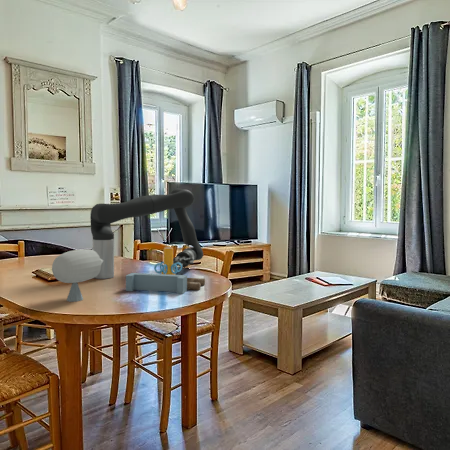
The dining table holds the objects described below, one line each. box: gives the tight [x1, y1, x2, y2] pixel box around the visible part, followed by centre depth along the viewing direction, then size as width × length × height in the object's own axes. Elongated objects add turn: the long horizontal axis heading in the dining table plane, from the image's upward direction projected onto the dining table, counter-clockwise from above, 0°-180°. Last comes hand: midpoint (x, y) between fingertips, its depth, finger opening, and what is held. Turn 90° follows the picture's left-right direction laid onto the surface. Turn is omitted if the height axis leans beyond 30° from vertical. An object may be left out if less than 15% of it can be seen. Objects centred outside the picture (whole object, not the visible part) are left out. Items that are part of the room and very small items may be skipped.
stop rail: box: [125, 272, 188, 295], centre depth 158 cm, size 23×6×6 cm, turn 81°
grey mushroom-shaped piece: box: [51, 248, 103, 303], centre depth 143 cm, size 15×20×18 cm
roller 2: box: [187, 282, 202, 291], centre depth 161 cm, size 8×3×3 cm, turn 81°
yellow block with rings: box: [153, 246, 183, 275], centre depth 173 cm, size 12×10×15 cm
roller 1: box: [187, 277, 206, 287], centre depth 170 cm, size 8×3×3 cm
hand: (175, 263), depth 183 cm, fingers closed
